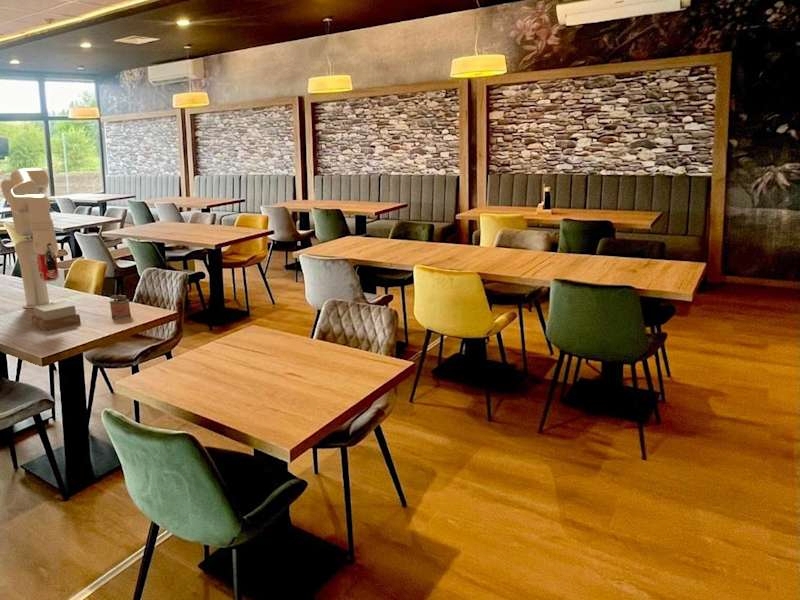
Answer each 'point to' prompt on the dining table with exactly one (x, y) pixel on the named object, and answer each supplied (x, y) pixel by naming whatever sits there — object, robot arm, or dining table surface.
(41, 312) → the tower top
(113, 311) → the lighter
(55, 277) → the soda can
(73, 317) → the tower base
